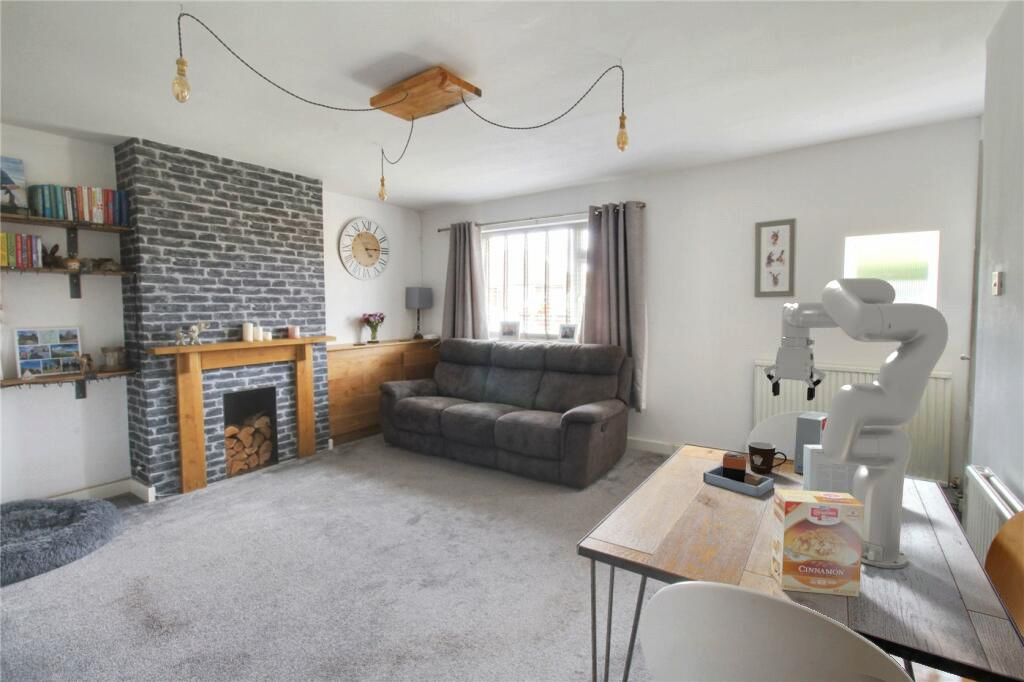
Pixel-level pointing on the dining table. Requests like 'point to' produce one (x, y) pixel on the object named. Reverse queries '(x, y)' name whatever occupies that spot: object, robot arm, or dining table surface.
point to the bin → (716, 478)
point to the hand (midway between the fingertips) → (792, 397)
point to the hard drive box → (808, 435)
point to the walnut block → (753, 480)
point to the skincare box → (825, 472)
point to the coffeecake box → (817, 542)
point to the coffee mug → (762, 457)
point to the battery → (734, 467)
